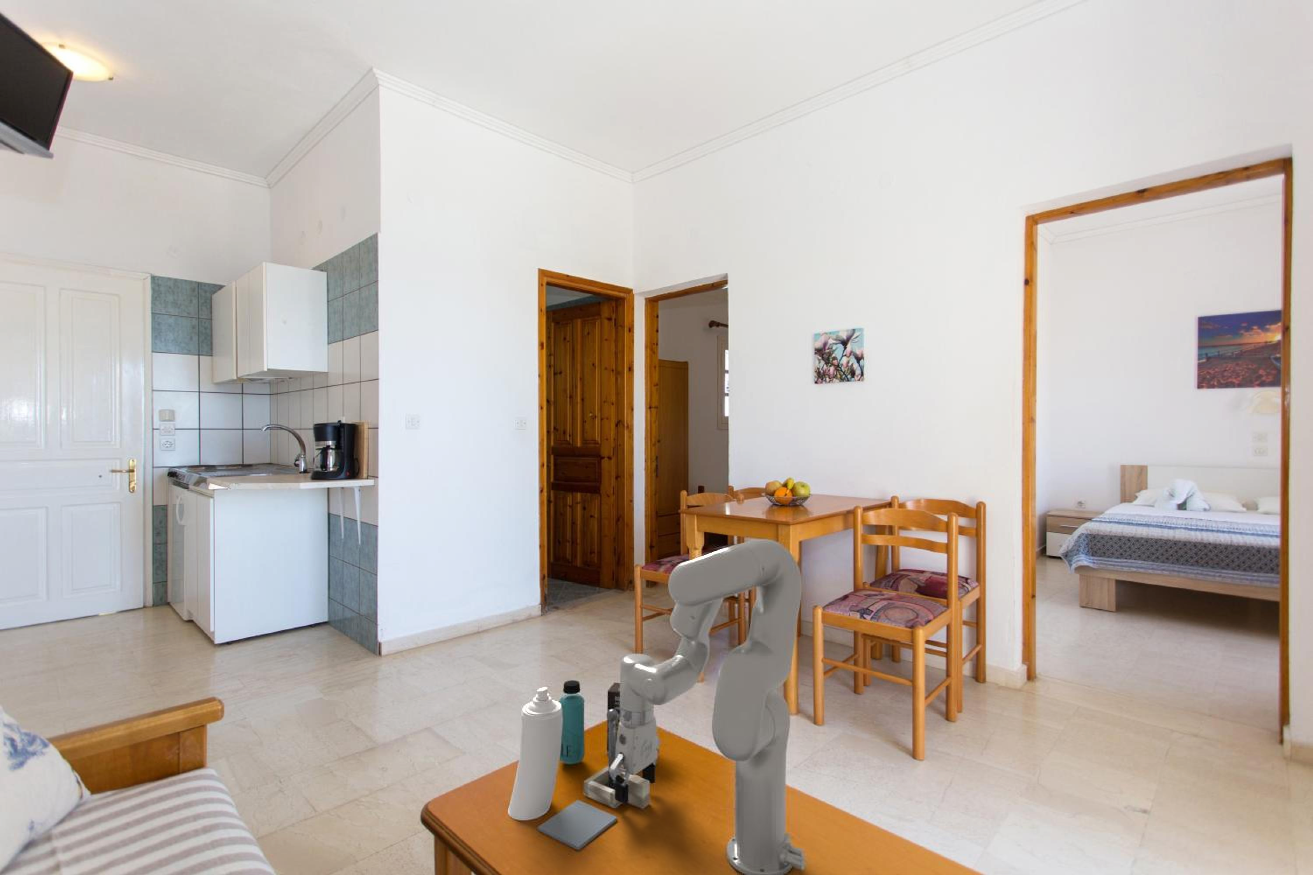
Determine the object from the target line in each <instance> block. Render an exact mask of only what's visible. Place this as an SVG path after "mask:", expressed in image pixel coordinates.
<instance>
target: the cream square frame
mask: <svg viewBox="0 0 1313 875" xmlns="http://www.w3.org/2000/svg"><path fill="white" fill-rule="evenodd" d="M624 775H625V772H623V771H622V773H621V775H620V776H621V777H622V778H624ZM608 782H609V764H608V765H607V766H605V767H604V768H602V769H601V770H599V771H598V772H596V773H594V774H593V775H592V776H590V777H588V778H586V780H584V781H583V796H585V797H588V798H590V799H592V800H594V801H597V802H598V803H601V804H604V805H605V806H608V807H611V808H613V809H616V808H618V807H619V806H620V805H622V804H623V803H621V802H619V801H617V800H615V790H613V789H611V788H608V787H606V786H604V785H603V784H605V783H608ZM627 784H628V786H629V789H628V803H627V804H630V805H632V806H635V807H637V808H640V809H641V810H644V809H645V808H646V807H647V806H649V805H650V783H649V780H646V779H643V778H642V776H639V775H637V774H635V775H631V774H630V776H629V779H628V781H627Z"/></svg>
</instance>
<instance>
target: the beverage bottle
mask: <svg viewBox="0 0 1313 875" xmlns="http://www.w3.org/2000/svg"><path fill="white" fill-rule="evenodd" d="M562 692H563V695H562V696H561V697H560V699H559V700H558V702H559V703H560V704H561V708H562V715H563V725H562V738H561V751H560V759H559V762H561V763H564V764H566V765H575V764H578V763H580V762H582V761H583V760H584V759H585V727H586V726H585V698H584V696H582V695H581V694H579V693H580V692H581V685H580V681H578V680H566V681H565V682H564V683H563V690H562Z"/></svg>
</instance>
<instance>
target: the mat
mask: <svg viewBox="0 0 1313 875" xmlns="http://www.w3.org/2000/svg"><path fill="white" fill-rule="evenodd" d="M617 821H618V817H617V816H615V815H614V814H611V813H608V812H607V811H604V810H602V809H599V808H597V807H595V806H592V805H590V804H589V803H586V802H584V801H581V800H579V799H576V801H574V802H572V803H571V804H569V805H568V806H566V807H565V808H564V809H562V810H560V811H559V812H558V813H556V814H555V815H553V816H552V817H550V818H549V819H547V820H546V821H545V822H543V823H542V824H540V825H539V826H537V830H538V831H539V832H541V833H543V834H545V835H546V836H548V837H551V838H553V839H554V840H557V841H559V842H560V843H563V844H565V845H567V846H568V847H571V848H573V849H575V850H577V851H580V850H581V849H582V848H583V847H585V846H586V845H587V844H588V843H590V842H591V841H592V840H593V839H594V838H597V837H598V835H600V834H601V833H603V832H604V831H605V830H606V829H608V828H609V827H610V826H612V825H613V824H614V823H615V822H617Z"/></svg>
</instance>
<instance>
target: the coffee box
mask: <svg viewBox="0 0 1313 875" xmlns="http://www.w3.org/2000/svg"><path fill="white" fill-rule="evenodd" d="M606 708H607V709H606V710H607V712H608V711H609V710H610V709H615V710H616V711H617V712H618V718H617V719H616V741H617V733H618V727H619V723H620V720H619V718H620V682H615V681H614V682H613V684H612V685H611V686H610V687H609V688H608V690H607V707H606ZM607 712H606V713H607ZM606 719H607V718H606ZM606 722H607V723H606V754H607V755H609V720H608V719H607V720H606Z"/></svg>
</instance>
